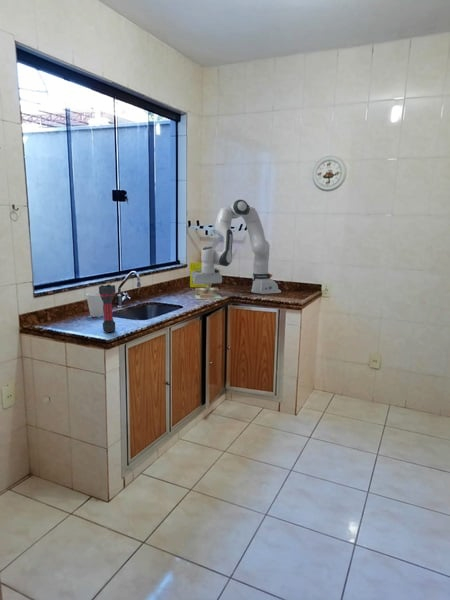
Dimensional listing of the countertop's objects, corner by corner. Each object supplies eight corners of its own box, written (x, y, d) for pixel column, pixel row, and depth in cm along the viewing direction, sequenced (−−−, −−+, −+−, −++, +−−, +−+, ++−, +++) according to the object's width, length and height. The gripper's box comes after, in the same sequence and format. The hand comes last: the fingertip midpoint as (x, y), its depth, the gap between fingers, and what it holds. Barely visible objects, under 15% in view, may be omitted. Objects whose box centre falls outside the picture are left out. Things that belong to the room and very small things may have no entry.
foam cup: (86, 315, 234) (84, 293, 232) (102, 314, 239) (101, 291, 236) (89, 319, 226) (88, 296, 224) (106, 317, 231) (105, 294, 228)
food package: (208, 287, 334) (208, 262, 330) (208, 287, 333) (208, 262, 329) (190, 286, 336) (189, 262, 332) (190, 287, 335) (189, 262, 331)
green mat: (219, 295, 297) (219, 294, 297) (222, 298, 285) (222, 298, 285) (195, 295, 295) (195, 295, 295) (196, 299, 282) (196, 298, 282)
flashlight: (110, 335, 195) (108, 287, 191) (97, 333, 198) (94, 286, 194) (121, 331, 202) (118, 284, 197) (108, 329, 205) (106, 283, 201)
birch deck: (216, 292, 308) (216, 287, 307) (218, 295, 298) (218, 289, 297) (195, 293, 305) (195, 288, 305) (196, 295, 296) (196, 290, 295)
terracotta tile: (213, 294, 285) (213, 297, 286) (213, 293, 291) (213, 296, 292) (200, 295, 285) (200, 297, 285) (200, 293, 291) (200, 296, 291)
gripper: (193, 271, 285) (193, 290, 287) (222, 270, 288) (222, 290, 291) (192, 270, 291) (192, 289, 293) (221, 269, 294) (221, 288, 297)
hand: (207, 289), depth 292 cm, fingers closed
